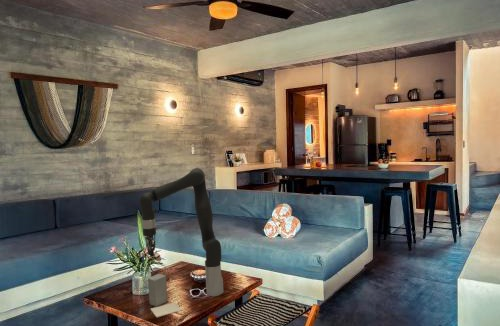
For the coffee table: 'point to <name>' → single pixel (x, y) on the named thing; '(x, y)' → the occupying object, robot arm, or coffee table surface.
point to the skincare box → (157, 290)
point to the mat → (166, 309)
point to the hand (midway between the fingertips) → (151, 255)
